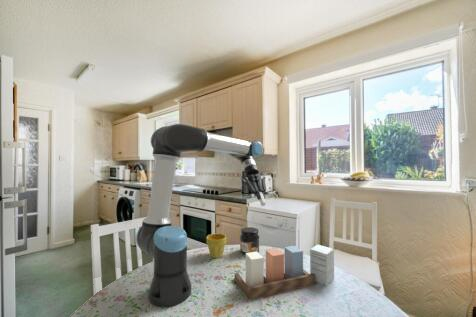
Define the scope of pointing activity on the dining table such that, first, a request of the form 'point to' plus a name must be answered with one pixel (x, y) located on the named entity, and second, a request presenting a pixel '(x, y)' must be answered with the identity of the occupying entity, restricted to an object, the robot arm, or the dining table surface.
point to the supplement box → (322, 263)
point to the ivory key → (254, 269)
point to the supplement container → (249, 240)
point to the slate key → (293, 261)
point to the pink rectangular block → (274, 265)
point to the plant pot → (216, 244)
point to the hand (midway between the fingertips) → (263, 204)
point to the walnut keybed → (275, 285)
